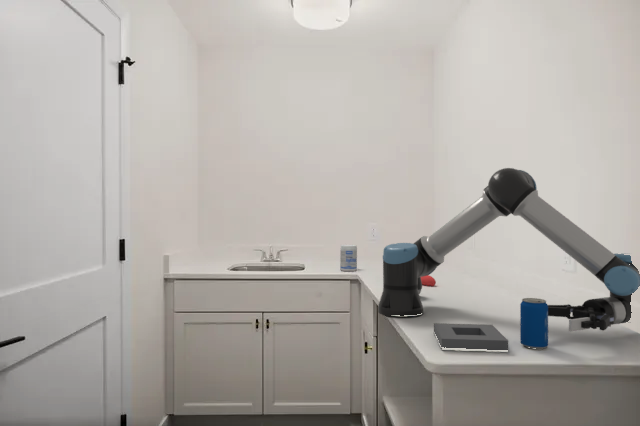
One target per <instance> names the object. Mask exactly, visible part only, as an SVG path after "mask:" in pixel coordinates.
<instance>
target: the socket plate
mask: <svg viewBox="0 0 640 426" xmlns="http://www.w3.org/2000/svg"><path fill="white" fill-rule="evenodd" d="M434 332H435V334H436V336H437V338H438V340H439V343H440V345H441V347H444V348H445V347H446V348H466V349H487V350H508V351H509V339H508V338H506V336H504V335H503V333H501V332H500V331H499V330H498V329H497V328H496V327H495V326H494V325H493V324H488V323H487V324H480V323H440V322H438V323H437V322H435V323H433V333H434Z"/></svg>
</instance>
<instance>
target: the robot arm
mask: <svg viewBox="0 0 640 426" xmlns="http://www.w3.org/2000/svg"><path fill="white" fill-rule="evenodd" d="M537 189H538V188H537V183H536V181H535V179H534V178H533V176H532V175H531V174H530V173H528V172H527V171H525V170H523V169H516V168H513V167H505V168H501V169H499V170H497V171H495V172H494V173H493V174H492V175H491V177H490V178H489V180H488V185H486V186H485V188H483V189H482V196H480V197H479V198H477V200H475V201H474V202H473V203H470V204H469V206H467V207H466V208H465V209H463V210H462V211H461V212H459V213H458V214H457V215H455V216H454V217H453V218H452V219H450V220H449V221H448V222H447V223H445V224H444V225H443V226H441V227H439V229H437V230H435V232H433V233H432V234H430V236H426V235H422V236H421V237H420V238H418V239H417V240H416V241H415V242H413V243H412V242H397V243H391V244H388V245H386V246H385V247H383V250H382V251H383V252H382V253H383V255H382V262H383V263H382V275H383V276H382V277H383V279H382V280H383V288H382V293H381V296H380V299H379V302H378V306H377V309H378V310H377V311H378V313H379V314H380V315H381V316H385V317H391V315H400V316H404V315H417V314H421V313H423V314H424V306H423V302H422V300H421V297H420V294H419V293H418V278H419V277H424V276H427V275H429V276H430V275H431V274H432V273H433V272H434V271H435V270H436V269H437V268H438V267H439V266H440V265H441V264H443V263H444V262H445V256H447V255H448V254H449V253H451V252H452V251H454V249H456V248H457V247H459V246H460V245H462V244H463V243H464V242H466V241H467V240H469V239H470V238H471V237H473V236H474V235H476V234H477V233H478V232H480V231H481V230H482V229H484V228H485V227H486V226H488V225H489V224H490V223H491V222H493V221H494V220H496V219H497V218H499V217H508V216H509V215H513V216H514V217H515V216H516V217H517V216H519V217H521V218H522V219H523V220H525V221H526V222H527V223H528V224H529V225H530V226H532V227H533V228H534V229H536V230H537V231H538V232H539V233H541V234H542V235H543V236H544V237H546V238H547V239H548V240H550V241H551V242H552V243H553V244H555V245H556V246H557V247H559V248H560V249H561V251H563V252H565V253H566V254H567V255H569V257H571V258H572V259H573V260H575V261H576V262H577V263H578V264H580V265H581V266H582V267H583V268H585V269H586V270H587V271H588V272H589V273H591V274H592V275H593V276H595V278H597V279H598V280H599V281H600V282H602V283H603V284H604V286H605V288H606V289H607V290H608V291H609V296H607V297H599V298H598V297H597V298H590V299H587V300H586V301H584V302H583V303H582V304H581V305H576V306H575V305H571V304H569V303H567V304H547V305H548V317H557V318H566V319H568V331H569V332H576V331H583V330H589V329H593V330H596V329H597V328H599V330H600V331H602V332H603V331H606V330H607V329H608V328H609V327H610V328H611V326H612V325H613V326H614V325H619V324H625V323H626V322H628V321H629V320H630V318H631V313H632V312H631V305H630V302H631V295H632V293H634V292H635V291H636V290H637V289H638V287H639V286H640V274H639V271H638V269H637V268H636V267H635V266H634V265H633V264H632V261H631V256H630V255H624V254H625V253H621V254H618V253H613V252H612V251H611V250H609V248H607V247H605V245H603V244H602V243H600V242H599V241H597V240H596V239H595V238H594V237H592V236H591V235H590V234H589V233H587V232H586V231H585V230H583V229H582V228H581V227H579V226H578V225H577V224H576V223H574V222H573V221H571V220H570V219H569V218H567V217H566V216H565V215H563V214H562V213H561V212H560V211H559V210H557V209H556V208H555V207H553V206H552V205H551V204H549V203H548V202H547V201H546V200H544V199H543V198H542V197H540V196H539V191H538V190H537ZM629 264H630V265H629ZM571 314H572V316H571ZM628 323H629V322H628Z"/></svg>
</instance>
